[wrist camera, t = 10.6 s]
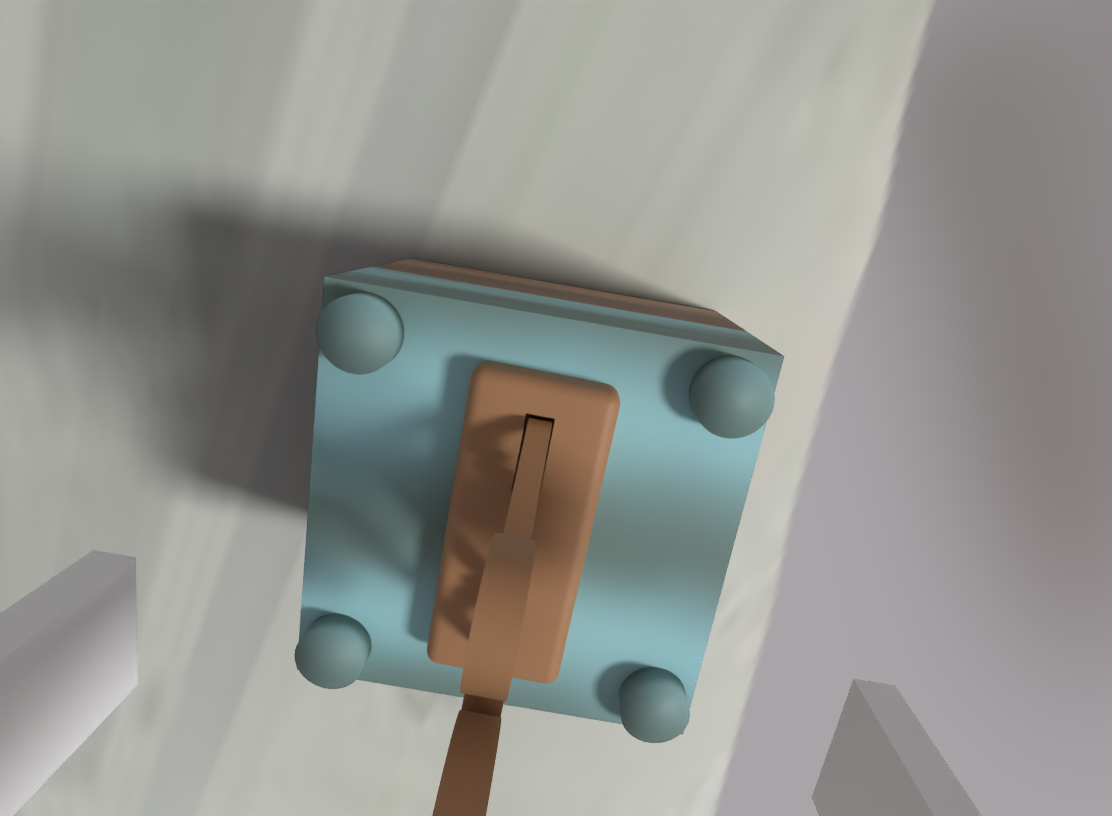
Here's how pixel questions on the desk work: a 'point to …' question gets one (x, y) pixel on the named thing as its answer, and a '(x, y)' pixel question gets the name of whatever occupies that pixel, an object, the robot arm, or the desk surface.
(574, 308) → the teal and brown block
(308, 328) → the desk surface
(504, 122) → the desk surface
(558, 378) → the lever handle backplate
